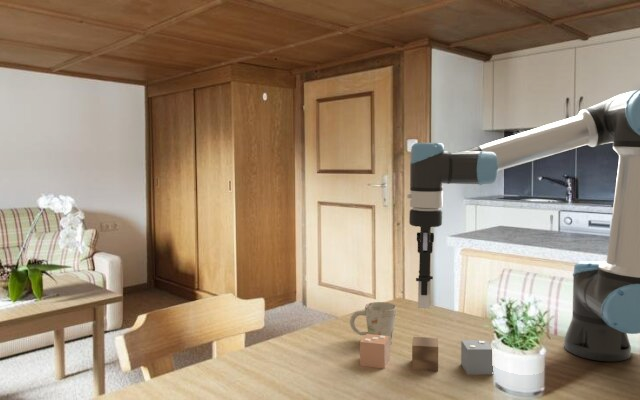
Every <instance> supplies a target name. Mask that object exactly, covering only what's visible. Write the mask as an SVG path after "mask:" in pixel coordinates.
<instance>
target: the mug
mask: <svg viewBox="0 0 640 400" xmlns="http://www.w3.org/2000/svg"><path fill="white" fill-rule="evenodd" d="M396 313H397V306H396V305H395V304H394V303H390V302H385V301H376V302H374V301H373V302H369V303H366V304H365V306H364V310H357V311H355V312H353V314H351V316H350V319H349V325H350V327H351V329H352V330H353V331H354V333H356V334H357V335H361V336H365V335H366V334H374V335H384V336H390V345H391V344H392V343H393V336H394V328H395V320H396ZM359 316H363V317H364V316H365V318H366V319H365V320H366V328H367V331H362V330H361V331H360V330H359V329H358V328H357V326H356V323H355V321H356V319H357V318H358V317H359Z"/></svg>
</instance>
